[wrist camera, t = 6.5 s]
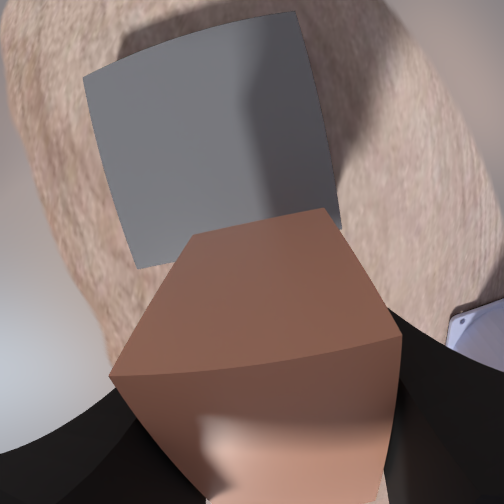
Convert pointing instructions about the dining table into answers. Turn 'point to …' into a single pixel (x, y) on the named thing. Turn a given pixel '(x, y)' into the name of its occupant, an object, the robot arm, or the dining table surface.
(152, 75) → the base brick
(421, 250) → the dining table surface
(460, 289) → the dining table surface
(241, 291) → the top brick
